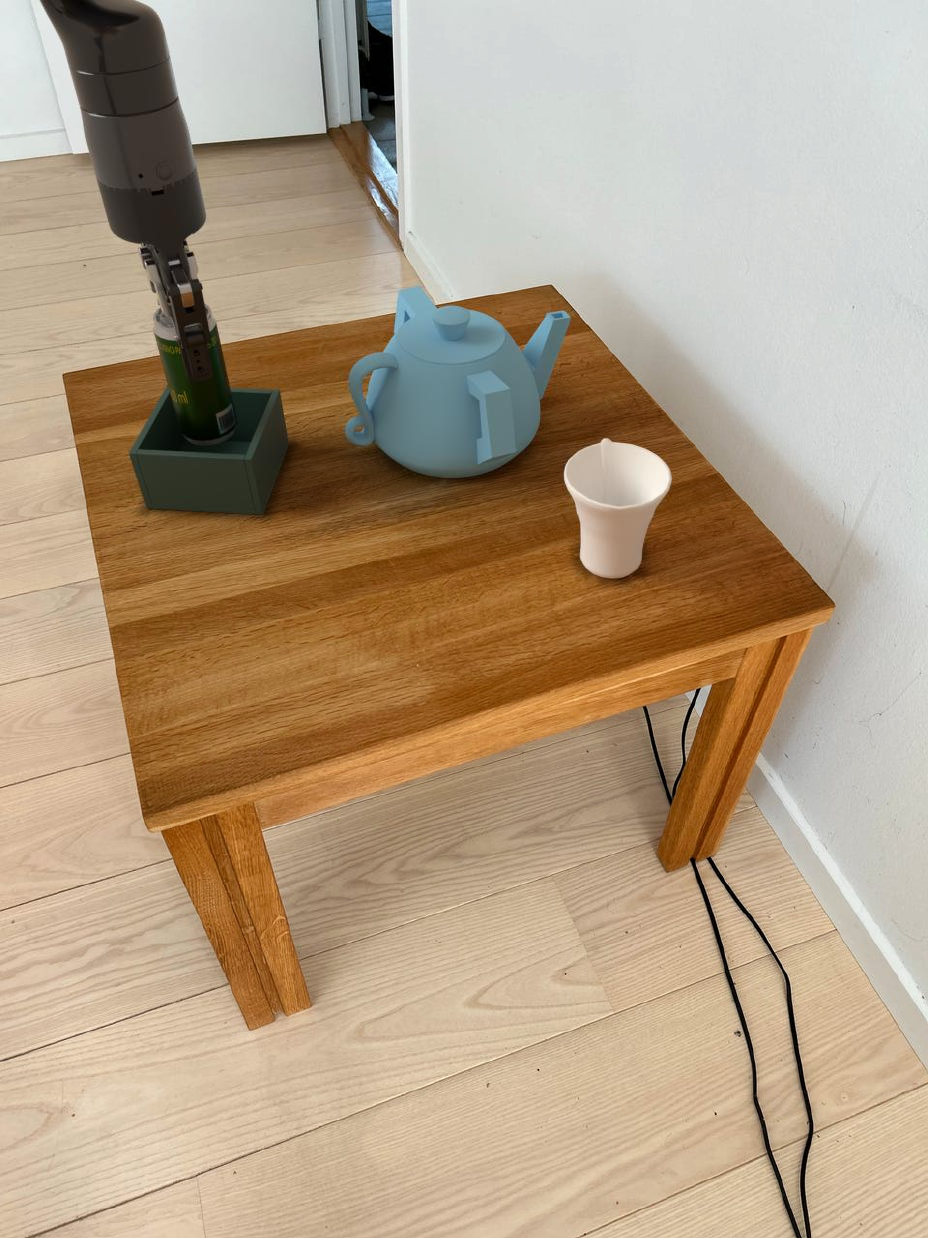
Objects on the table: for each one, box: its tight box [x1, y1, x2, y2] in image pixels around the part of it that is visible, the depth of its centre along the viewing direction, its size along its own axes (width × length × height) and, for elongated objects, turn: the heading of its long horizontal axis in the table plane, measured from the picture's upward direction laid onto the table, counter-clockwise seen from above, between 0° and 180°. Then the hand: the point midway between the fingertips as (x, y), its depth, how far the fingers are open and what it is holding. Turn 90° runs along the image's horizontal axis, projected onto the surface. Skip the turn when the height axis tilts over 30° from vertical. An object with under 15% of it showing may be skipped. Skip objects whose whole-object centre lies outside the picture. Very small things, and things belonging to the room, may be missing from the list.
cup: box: [563, 437, 673, 580], centre depth 80 cm, size 9×9×10 cm
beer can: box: [152, 303, 237, 446], centre depth 84 cm, size 5×5×12 cm
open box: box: [128, 384, 290, 516], centre depth 90 cm, size 11×11×6 cm
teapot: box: [344, 284, 572, 479], centre depth 92 cm, size 19×19×14 cm
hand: (192, 361), depth 83 cm, fingers closed on beer can, 5 cm apart
